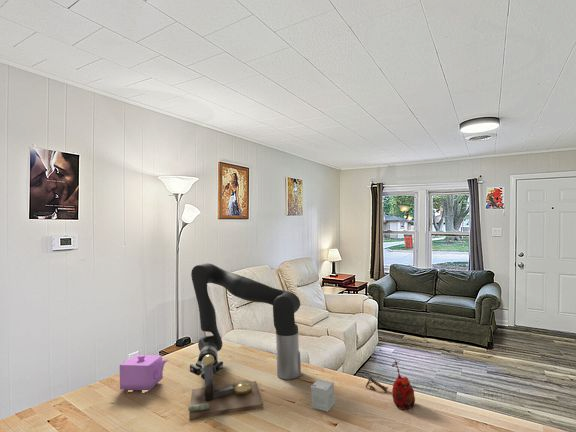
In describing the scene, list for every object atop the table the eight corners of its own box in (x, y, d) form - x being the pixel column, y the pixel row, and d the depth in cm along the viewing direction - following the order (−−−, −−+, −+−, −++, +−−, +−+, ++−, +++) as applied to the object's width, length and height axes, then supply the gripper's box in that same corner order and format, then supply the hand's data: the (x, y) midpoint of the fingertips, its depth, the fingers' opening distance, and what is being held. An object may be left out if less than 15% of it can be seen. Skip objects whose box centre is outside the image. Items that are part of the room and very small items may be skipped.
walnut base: (256, 384, 135) (255, 376, 135) (263, 408, 117) (262, 398, 117) (191, 393, 129) (190, 384, 129) (188, 419, 112) (187, 409, 112)
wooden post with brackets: (364, 384, 130) (368, 373, 130) (384, 396, 127) (388, 386, 126) (362, 386, 129) (367, 375, 128) (382, 399, 125) (387, 388, 125)
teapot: (114, 393, 131) (113, 360, 132) (129, 381, 141) (129, 350, 142) (163, 395, 129) (162, 361, 129) (175, 382, 139) (175, 351, 139)
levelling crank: (248, 384, 131) (246, 344, 131) (254, 392, 125) (253, 349, 125) (201, 396, 123) (200, 352, 124) (205, 404, 117) (204, 359, 118)
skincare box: (335, 403, 119) (334, 382, 119) (327, 412, 113) (326, 389, 113) (318, 399, 122) (318, 378, 122) (311, 408, 116) (310, 385, 117)
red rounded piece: (406, 413, 111) (404, 366, 112) (387, 405, 117) (386, 360, 117) (419, 404, 116) (417, 359, 116) (400, 397, 121) (398, 354, 122)
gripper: (190, 350, 138) (185, 367, 121) (224, 347, 141) (223, 364, 124) (191, 368, 138) (185, 389, 121) (224, 365, 141) (224, 385, 123)
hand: (205, 376), depth 122 cm, fingers closed
